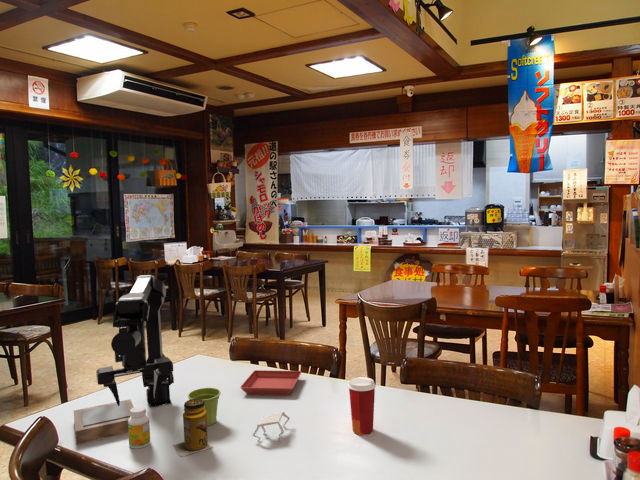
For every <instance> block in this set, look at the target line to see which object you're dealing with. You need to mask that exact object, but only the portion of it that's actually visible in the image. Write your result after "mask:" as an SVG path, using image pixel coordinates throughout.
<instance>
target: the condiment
mask: <svg viewBox="0 0 640 480" xmlns="http://www.w3.org/2000/svg"><path fill="white" fill-rule="evenodd" d="M183 406H184V407H183V408H184V409H183V411H184V412H183V413H182V422H183V423H182V424H183V442H179V443H175V444H172V446H173V448H174V449H175V451H176V452H177V453H178V455H180V457H185V456H189V455H191V454H195V453H198V452H202V451H205V450H209V449H211V448H213V447H214V446H213V445H212V444H211V443H210V442H209V441H208V440H209V439H208V435H209V434H208V425H207V414H206V410H205V402H204V401H203V400H202V399H191V400H190V399H188V400H186V401H185V402H184V405H183Z"/></svg>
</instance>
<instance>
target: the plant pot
mask: <svg viewBox="0 0 640 480" xmlns="http://www.w3.org/2000/svg"><path fill="white" fill-rule="evenodd" d="M221 393H222V392H221V390H220V389H219V388H215V387H202V388H201V387H200V388H196V389H194V390H191V391H190V392H189V393H188V394H187V398H188V400H191V399H202V400H203V401H204V402H205V410H206V414H207V426H212V425H213V424H215V423H216V421H217V414H218V413H217V412H218V404H219V403H218V402H219V400H220V395H221Z"/></svg>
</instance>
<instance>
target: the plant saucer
mask: <svg viewBox="0 0 640 480" xmlns="http://www.w3.org/2000/svg"><path fill="white" fill-rule="evenodd" d="M301 375H302V371H301V370H259V369H258V370H253V371H252V373H251V374H250V375H249V376H247V379H245V381H244V382H243V383H242V384H241V385H240V389H241V390H242V391H243V392H244V393H246V394H248V395H272V396H273V395H275V396H285V395H286V396H288V395H289V394H291V392H293V389H294V388H295V386H296V384H297V381H298V380H299V378H300V377H301Z"/></svg>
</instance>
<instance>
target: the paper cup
mask: <svg viewBox="0 0 640 480" xmlns="http://www.w3.org/2000/svg"><path fill="white" fill-rule="evenodd" d="M346 387H348V391H349V392H348V393H349V401H350V402H349V403H350V415H351V425H352V426H351V427H352V432H353V433H354V434H356V435H359V436H368V435H371V434H372V433H374V431H373V430H374V419H375V417H374V415H375V414H374V413H375V396H376V395H375V393H376V391H375V390H376V387H377V385H376V383H375V381H374V379H372V378H370V377H365V376H359V377H354V378H351V379H350V380H349V381H348V384H347V386H346Z"/></svg>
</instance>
